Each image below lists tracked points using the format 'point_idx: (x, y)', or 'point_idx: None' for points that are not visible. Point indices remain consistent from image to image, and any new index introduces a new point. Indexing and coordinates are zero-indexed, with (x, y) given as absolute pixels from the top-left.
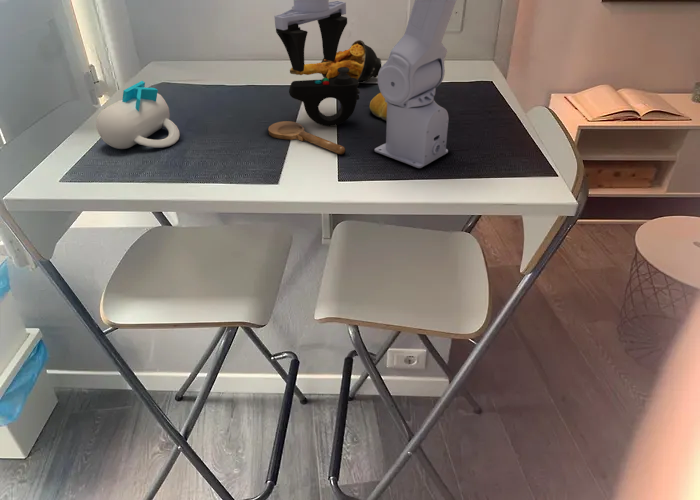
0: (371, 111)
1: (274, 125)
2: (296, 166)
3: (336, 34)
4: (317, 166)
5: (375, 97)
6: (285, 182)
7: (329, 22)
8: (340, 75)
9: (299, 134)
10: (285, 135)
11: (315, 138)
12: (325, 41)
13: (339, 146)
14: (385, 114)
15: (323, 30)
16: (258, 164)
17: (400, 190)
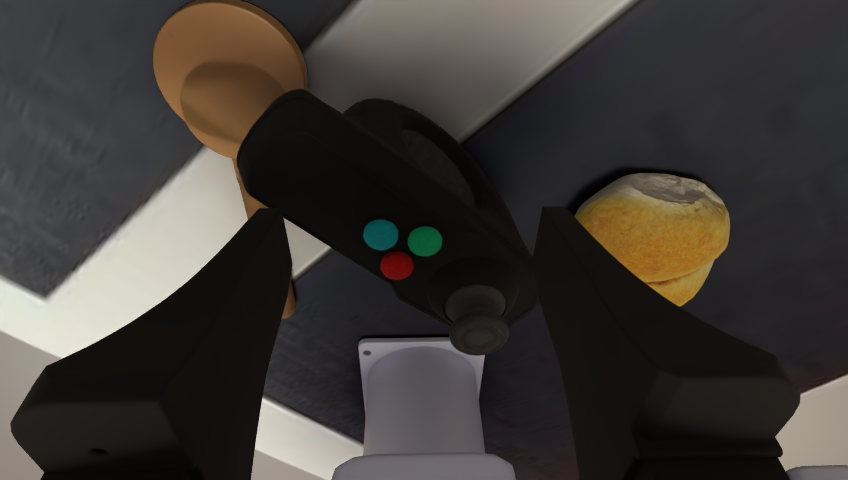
0: (580, 207)
1: (201, 24)
2: (135, 269)
3: (571, 423)
4: None
5: (624, 231)
6: (68, 303)
7: (607, 459)
8: (457, 315)
9: (237, 171)
10: (193, 133)
11: None
12: (574, 296)
13: None
14: None
15: (605, 343)
16: (26, 194)
17: (276, 432)
